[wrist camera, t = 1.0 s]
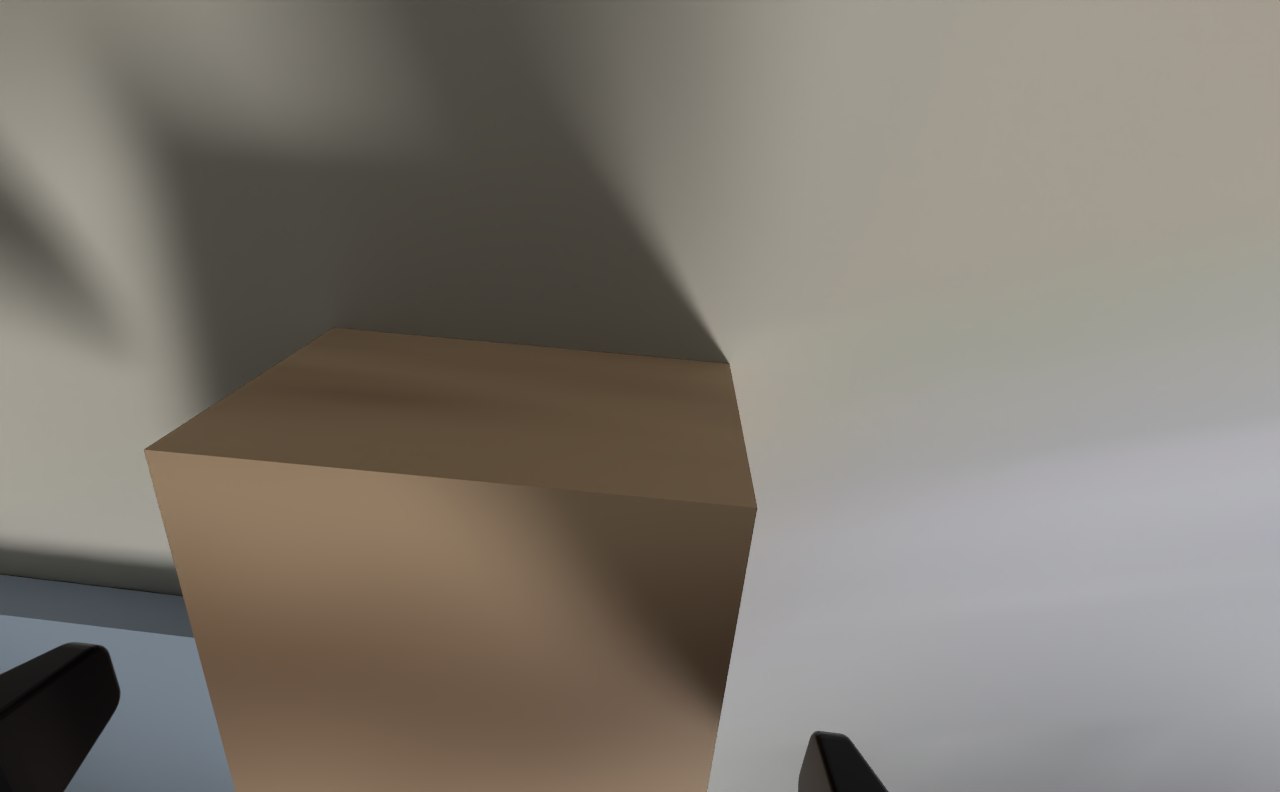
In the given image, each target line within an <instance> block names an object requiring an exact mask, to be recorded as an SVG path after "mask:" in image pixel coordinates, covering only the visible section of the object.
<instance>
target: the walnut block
mask: <svg viewBox="0 0 1280 792" xmlns="http://www.w3.org/2000/svg"><path fill="white" fill-rule="evenodd" d="M144 452H145V456H146V460H147V464H148V467H149V471H150V475H151V478H152V482H153V486H154V490H155V493H156V497H157V501H158V505H159V508H160V512H161V516H162V520H163V523H164V527H165V531H166V534H167V538H168V542H169V546H170V549H171V553H172V557H173V561H174V564H175V568H176V572H177V576H178V579H179V583H180V587H181V590H182V594H183V598H184V602H185V605H186V609H187V613H188V617H189V620H190V624H191V628H192V632H193V635H194V639H195V643H196V647H197V650H198V654H199V658H200V661H201V665H202V669H203V673H204V676H205V680H206V684H207V688H208V691H209V695H210V699H211V703H212V706H213V710H214V714H215V717H216V721H217V725H218V729H219V732H220V736H221V740H222V744H223V747H224V751H225V755H226V759H227V762H228V766H229V770H230V773H231V777H232V781H233V785H234V788H235V792H707V788H708V782H709V777H710V771H711V766H712V760H713V754H714V749H715V743H716V737H717V732H718V726H719V720H720V715H721V709H722V703H723V698H724V692H725V687H726V681H727V675H728V670H729V664H730V658H731V653H732V647H733V641H734V636H735V630H736V624H737V619H738V613H739V607H740V602H741V596H742V591H743V585H744V579H745V574H746V568H747V562H748V557H749V551H750V545H751V540H752V534H753V528H754V523H755V517H756V511H757V504H756V499H755V494H754V489H753V484H752V478H751V473H750V468H749V463H748V458H747V452H746V447H745V442H744V437H743V432H742V426H741V421H740V416H739V411H738V406H737V400H736V395H735V390H734V385H733V380H732V374H731V369H730V364H727V363H716V362H705V361H695V360H684V359H673V358H662V357H651V356H640V355H629V354H618V353H607V352H596V351H585V350H574V349H563V348H552V347H541V346H530V345H519V344H508V343H497V342H486V341H475V340H464V339H453V338H442V337H431V336H420V335H409V334H398V333H387V332H376V331H365V330H354V329H343V328H332V329H330V330H329V331H327V332H326V333H324V334H323V335H321V336H319V337H318V338H316V339H315V340H313V341H312V342H310V343H309V344H307V345H305V346H304V347H302V348H301V349H299V350H298V351H296V352H295V353H293V354H291V355H290V356H288V357H287V358H285V359H284V360H282V361H281V362H279V363H278V364H276V365H274V366H273V367H271V368H270V369H268V370H267V371H265V372H264V373H262V374H260V375H259V376H257V377H256V378H254V379H253V380H251V381H250V382H248V383H246V384H245V385H243V386H242V387H240V388H239V389H237V390H236V391H234V392H233V393H231V394H229V395H228V396H226V397H225V398H223V399H222V400H220V401H219V402H217V403H215V404H214V405H212V406H211V407H209V408H208V409H206V410H205V411H203V412H201V413H200V414H198V415H197V416H195V417H194V418H192V419H191V420H189V421H188V422H186V423H184V424H183V425H181V426H180V427H178V428H177V429H175V430H174V431H172V432H170V433H169V434H167V435H166V436H164V437H163V438H161V439H160V440H158V441H156V442H155V443H153V444H152V445H150V446H149V447H147V448H146V449H144Z"/></svg>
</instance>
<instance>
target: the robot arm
mask: <svg viewBox="0 0 1280 792" xmlns="http://www.w3.org/2000/svg"><path fill="white" fill-rule="evenodd" d="M120 696H121V690H120V686H119V683H118V680H117V676H116V673H115V670H114V667H113V663H112V660H111V657H110V654H109V652H108V650H107V649H106V648H105V647H104V646H102V645H97V644H89V643H80V642H70V643H66V644H63V645H60V646H58V647H56V648H54V649H52V650H50V651H48V652H46V653H43V654H41V655H39V656H37V657H35V658H33V659H31V660H29V661H27V662H25V663H23V664H20V665H18V666H16V667H14V668H12V669H10V670H8V671H6V672H4V673H2V674H0V792H64V791H65V789H66V788H67V786H68V785H69V783H70V782H71V780H72V778H73V777H74V775H75V774H76V772H77V771H78V769H79V768H80V766H81V764H82V763H83V761H84V760H85V758H86V757H87V755H88V753H89V752H90V750H91V749H92V747H93V746H94V744H95V743H96V741H97V739H98V738H99V736H100V735H101V733H102V732H103V730H104V729H105V727H106V725H107V724H108V722H109V721H110V719H111V718H112V716H113V714H114V713H115V711H116V709H117V707H118V704H119V701H120ZM798 792H888V791H887V789H886V788H885V786H884V785H883V784H882V782H881V781H880V780H879V778H878V777H877V775H876V774H875V773H874V771H873V770H872V769H871V767H870V766H869V765H868V763H867V762H866V760H865V759H864V758H863V756H862V755H861V754H860V752H859V751H858V749H857V748H856V747H855V745H854V744H853V743H852V741H851V740H850V739H849V738H848V737H847V736H845V735H843V734H840V733H831V732H823V731H816V732H814V733H813V734H812V735H811V737H810V740H809V744H808V747H807V750H806V754H805V757H804V760H803V764H802V767H801V771H800V775H799V783H798Z"/></svg>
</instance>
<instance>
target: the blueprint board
mask: <svg viewBox="0 0 1280 792" xmlns="http://www.w3.org/2000/svg"><path fill="white" fill-rule="evenodd" d="M70 642H80V643H89V644H97V645H102V646H104V647H105V648H106V649H107V650H108V652H109V654H110V657H111V660H112V663H113V667H114V670H115V673H116V676H117V680H118V683H119V686H120V690H121V696H120V701H119V704H118V707H117V709H116V711H115V713H114V714H113V716H112V718H111V719H110V721H109V722H108V724H107V725H106V727H105V729H104V730H103V732H102V733H101V735H100V736H99V738H98V739H97V741H96V743H95V744H94V746H93V747H92V749H91V750H90V752H89V753H88V755H87V757H86V758H85V760H84V761H83V763H82V764H81V766H80V768H79V769H78V771H77V772H76V774H75V775H74V777H73V778H72V780H71V782H70V783H69V785H68V786H67V788H66V789H65V791H64V792H235V788H234V785H233V781H232V777H231V773H230V770H229V766H228V762H227V759H226V755H225V751H224V747H223V744H222V740H221V736H220V732H219V729H218V725H217V721H216V717H215V714H214V710H213V706H212V703H211V699H210V695H209V691H208V688H207V684H206V680H205V676H204V673H203V669H202V665H201V661H200V658H199V654H198V650H197V647H196V643H195V639H194V635H193V632H192V628H191V624H190V620H189V617H188V613H187V609H186V605H185V602H184V598H183V596H175V595H167V594H158V593H150V592H142V591H133V590H125V589H116V588H108V587H100V586H91V585H83V584H75V583H66V582H58V581H49V580H41V579H33V578H24V577H16V576H8V575H0V674H2V673H4V672H6V671H8V670H10V669H12V668H14V667H16V666H18V665H20V664H23V663H25V662H27V661H29V660H31V659H33V658H35V657H37V656H39V655H41V654H43V653H46V652H48V651H50V650H52V649H54V648H56V647H58V646H60V645H63V644H66V643H70Z"/></svg>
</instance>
